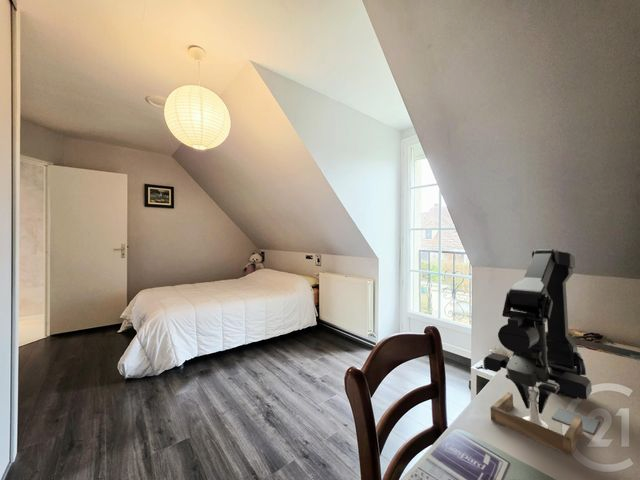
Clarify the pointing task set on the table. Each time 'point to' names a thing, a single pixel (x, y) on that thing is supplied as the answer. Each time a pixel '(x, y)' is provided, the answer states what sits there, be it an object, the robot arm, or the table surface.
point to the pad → (569, 416)
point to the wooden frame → (536, 427)
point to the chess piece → (534, 408)
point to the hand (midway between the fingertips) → (534, 410)
